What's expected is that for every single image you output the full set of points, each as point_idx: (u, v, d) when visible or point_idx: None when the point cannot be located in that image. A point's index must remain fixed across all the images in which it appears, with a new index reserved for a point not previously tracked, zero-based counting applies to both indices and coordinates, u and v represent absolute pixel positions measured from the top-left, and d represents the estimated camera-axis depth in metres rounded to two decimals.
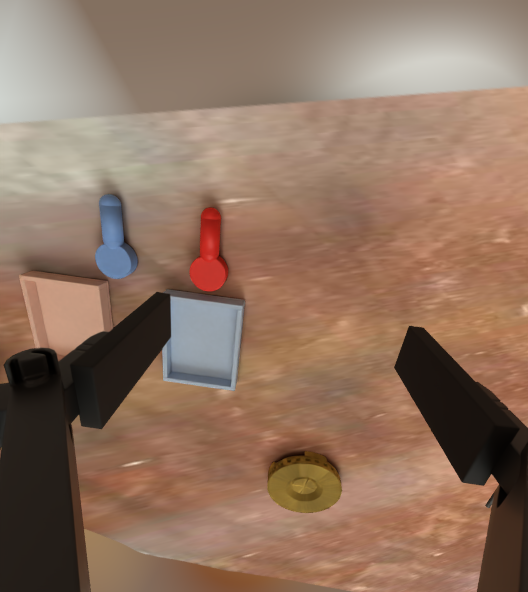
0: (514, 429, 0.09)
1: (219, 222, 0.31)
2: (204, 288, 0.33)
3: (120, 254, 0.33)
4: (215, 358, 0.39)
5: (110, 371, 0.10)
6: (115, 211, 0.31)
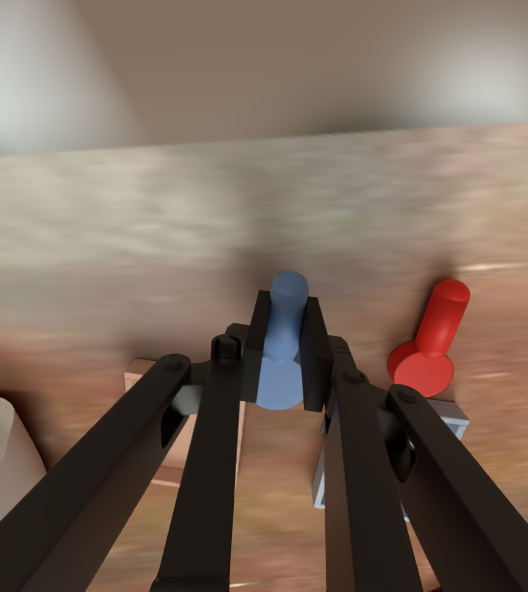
0: (331, 361, 0.11)
1: None
2: None
3: (292, 373, 0.18)
4: None
5: None
6: (303, 304, 0.16)
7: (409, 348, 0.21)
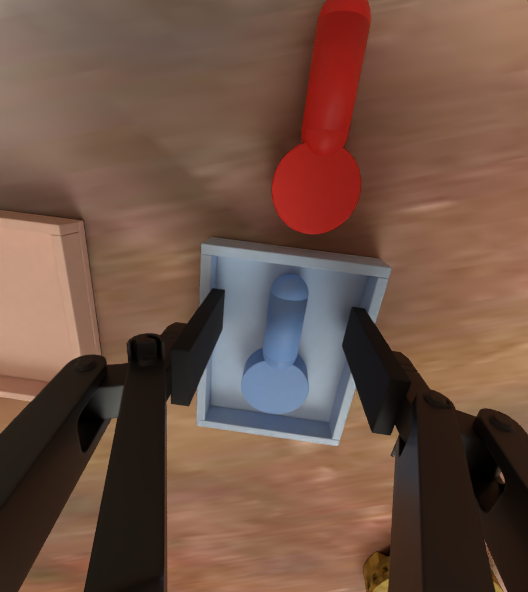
0: (407, 382, 0.10)
1: (367, 37, 0.12)
2: (303, 227, 0.14)
3: (292, 377, 0.17)
4: None
5: (196, 356, 0.11)
6: (303, 308, 0.15)
7: None
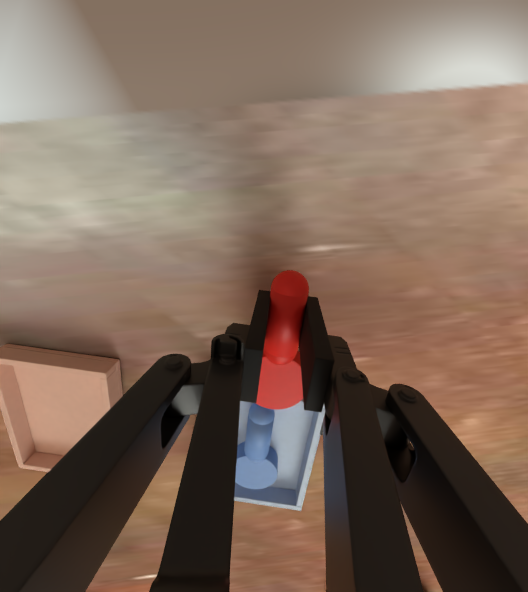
0: (330, 361, 0.11)
1: None
2: (267, 405, 0.19)
3: (265, 466, 0.25)
4: None
5: None
6: (271, 426, 0.23)
7: None
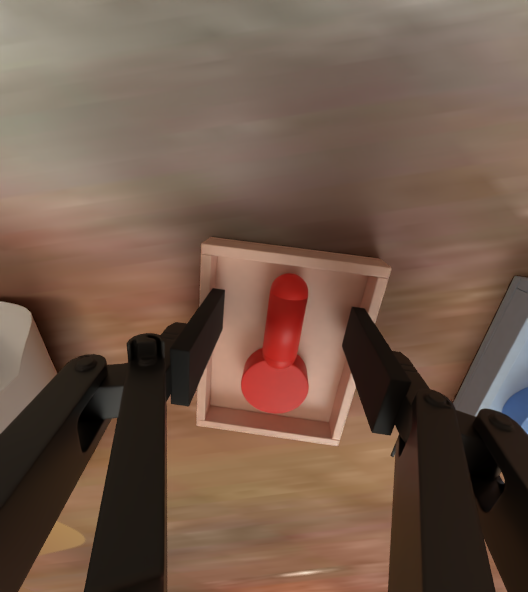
0: (407, 382, 0.10)
1: (306, 302, 0.16)
2: (266, 409, 0.19)
3: None
4: None
5: (196, 356, 0.11)
6: None
7: (258, 355, 0.18)
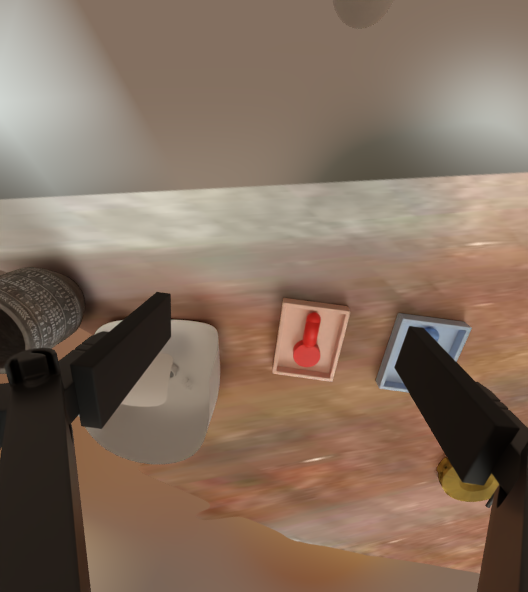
0: (514, 429, 0.09)
1: None
2: (303, 365, 0.45)
3: None
4: None
5: (111, 371, 0.10)
6: (437, 341, 0.42)
7: (300, 343, 0.45)
